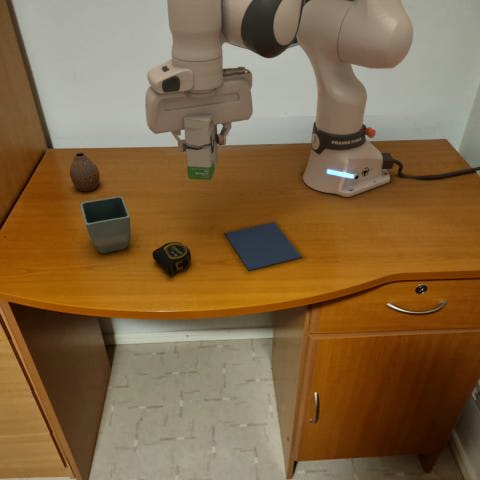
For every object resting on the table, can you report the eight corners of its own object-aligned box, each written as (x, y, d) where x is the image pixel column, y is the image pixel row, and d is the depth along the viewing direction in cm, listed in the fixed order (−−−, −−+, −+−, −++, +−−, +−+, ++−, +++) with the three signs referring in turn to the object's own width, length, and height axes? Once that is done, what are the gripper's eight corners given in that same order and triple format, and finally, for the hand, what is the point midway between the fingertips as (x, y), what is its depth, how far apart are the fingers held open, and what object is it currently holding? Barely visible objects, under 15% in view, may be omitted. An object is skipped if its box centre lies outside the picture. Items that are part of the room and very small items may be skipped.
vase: (68, 191, 120) (59, 158, 114) (84, 178, 125) (76, 146, 119) (91, 196, 118) (83, 163, 112) (107, 183, 123) (100, 150, 117)
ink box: (211, 181, 95) (209, 120, 87) (187, 179, 95) (182, 119, 87) (219, 160, 101) (217, 102, 93) (196, 159, 101) (192, 101, 93)
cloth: (273, 223, 110) (273, 221, 110) (301, 258, 101) (301, 256, 101) (224, 234, 107) (224, 233, 107) (248, 271, 98) (248, 269, 97)
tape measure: (152, 262, 100) (149, 247, 97) (181, 251, 102) (179, 236, 100) (168, 280, 96) (165, 265, 93) (197, 267, 98) (196, 253, 96)
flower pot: (128, 230, 108) (122, 194, 102) (136, 252, 102) (130, 216, 96) (89, 238, 106) (79, 202, 99) (94, 261, 100) (85, 224, 94)
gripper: (246, 60, 90) (245, 133, 100) (138, 73, 85) (148, 148, 94) (259, 70, 86) (257, 145, 95) (146, 84, 80) (156, 162, 90)
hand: (202, 147), depth 95 cm, fingers closed on ink box, 6 cm apart
